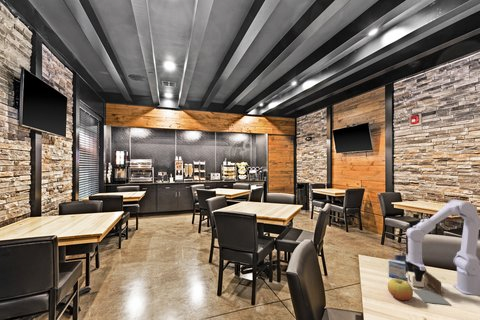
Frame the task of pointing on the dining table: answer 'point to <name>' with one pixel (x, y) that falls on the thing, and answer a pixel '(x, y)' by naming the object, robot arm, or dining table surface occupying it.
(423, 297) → the slate pad
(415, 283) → the letter cube
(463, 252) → the robot arm
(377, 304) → the dining table surface
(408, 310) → the dining table surface
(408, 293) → the apple
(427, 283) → the walnut screen
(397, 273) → the medicine box
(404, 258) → the flask
